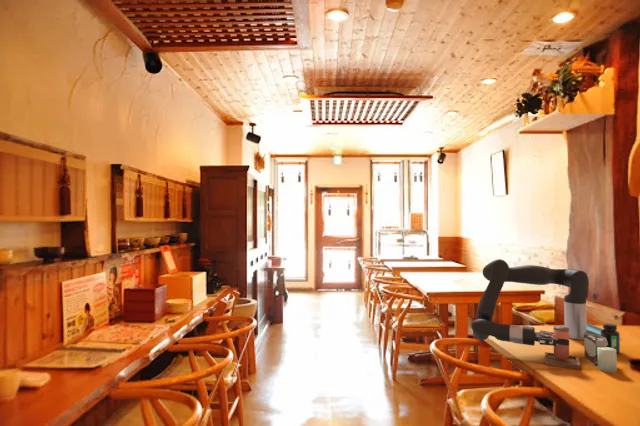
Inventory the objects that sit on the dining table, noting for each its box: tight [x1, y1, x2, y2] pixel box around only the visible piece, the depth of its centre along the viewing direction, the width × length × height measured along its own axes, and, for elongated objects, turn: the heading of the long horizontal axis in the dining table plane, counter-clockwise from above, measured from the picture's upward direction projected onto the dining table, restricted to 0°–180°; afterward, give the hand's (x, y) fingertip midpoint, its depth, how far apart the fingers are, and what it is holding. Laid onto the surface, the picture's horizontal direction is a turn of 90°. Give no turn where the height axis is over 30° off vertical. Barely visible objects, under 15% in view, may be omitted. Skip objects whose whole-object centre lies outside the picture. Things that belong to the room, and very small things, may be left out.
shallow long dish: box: [586, 322, 604, 336], centre depth 212 cm, size 26×9×2 cm, turn 3°
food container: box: [583, 333, 608, 367], centre depth 166 cm, size 12×6×10 cm, turn 168°
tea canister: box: [553, 325, 570, 360], centre depth 166 cm, size 6×6×12 cm
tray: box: [544, 351, 581, 371], centre depth 165 cm, size 12×12×2 cm
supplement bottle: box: [601, 322, 621, 355], centre depth 179 cm, size 7×7×12 cm
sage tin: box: [597, 347, 618, 374], centre depth 157 cm, size 6×6×8 cm
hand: (568, 340), depth 164 cm, fingers closed on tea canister, 5 cm apart
